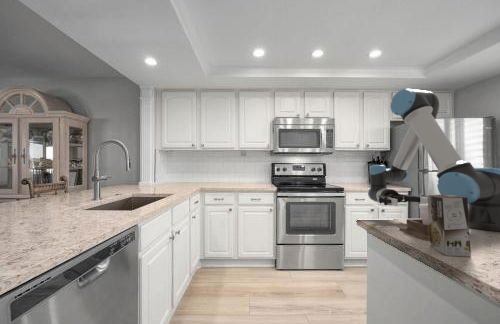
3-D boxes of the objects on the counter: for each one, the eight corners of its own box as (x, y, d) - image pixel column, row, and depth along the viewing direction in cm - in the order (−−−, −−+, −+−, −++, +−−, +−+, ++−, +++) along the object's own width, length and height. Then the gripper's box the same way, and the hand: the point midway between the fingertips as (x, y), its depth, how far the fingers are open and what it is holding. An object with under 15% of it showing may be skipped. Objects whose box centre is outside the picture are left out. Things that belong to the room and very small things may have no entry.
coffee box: (472, 257, 69) (468, 197, 69) (445, 256, 70) (442, 197, 70) (452, 246, 78) (449, 194, 78) (429, 246, 79) (426, 194, 79)
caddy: (436, 228, 100) (435, 217, 100) (468, 239, 84) (468, 226, 84) (399, 229, 101) (399, 218, 101) (425, 240, 85) (424, 227, 85)
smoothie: (425, 233, 90) (422, 193, 90) (416, 229, 96) (414, 192, 97) (445, 233, 89) (442, 193, 89) (435, 229, 95) (432, 192, 96)
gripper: (414, 203, 123) (446, 210, 102) (362, 205, 124) (382, 212, 103) (413, 188, 123) (445, 191, 102) (361, 189, 124) (381, 193, 103)
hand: (413, 202), depth 102 cm, fingers open, 13 cm apart
